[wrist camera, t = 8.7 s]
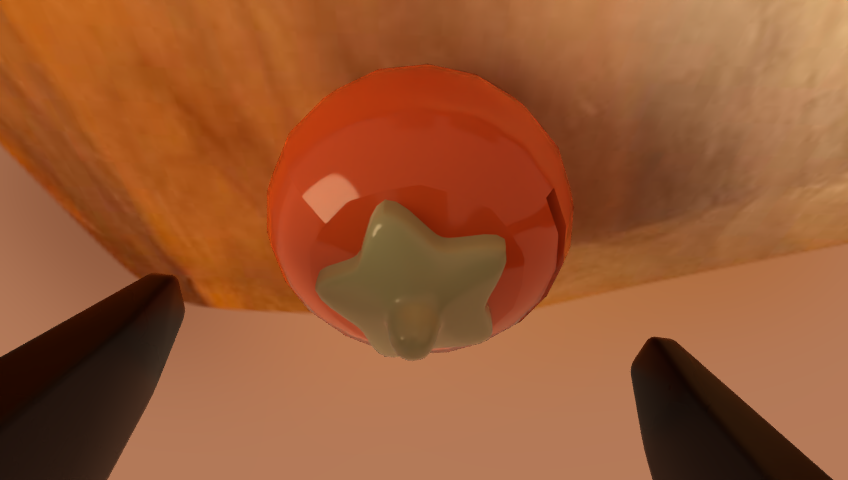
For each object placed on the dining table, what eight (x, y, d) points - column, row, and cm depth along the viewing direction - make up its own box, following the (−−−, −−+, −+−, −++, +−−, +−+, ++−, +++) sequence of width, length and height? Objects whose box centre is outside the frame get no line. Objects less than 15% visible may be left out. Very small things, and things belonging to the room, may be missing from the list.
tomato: (520, 251, 17) (571, 470, 10) (318, 241, 17) (242, 454, 10) (567, 35, 12) (708, 183, 6) (292, 21, 12) (129, 152, 6)
